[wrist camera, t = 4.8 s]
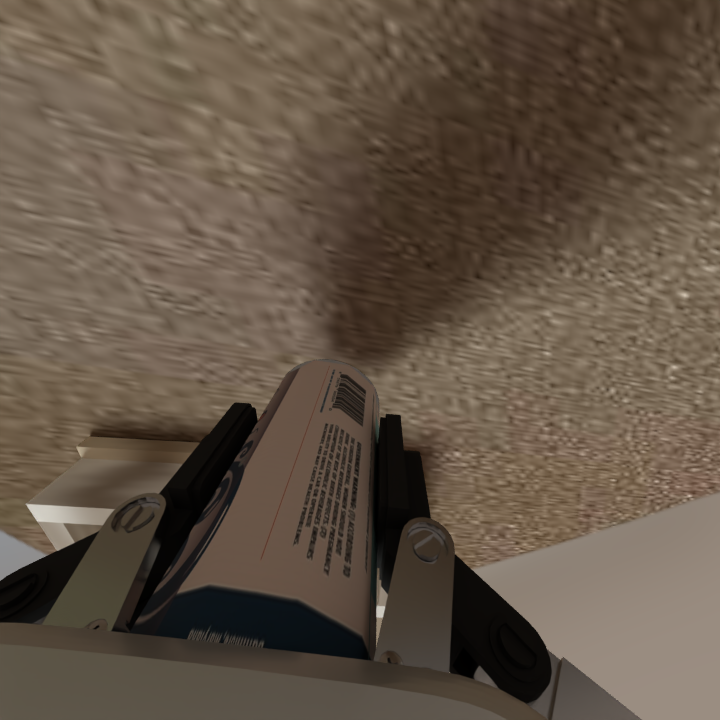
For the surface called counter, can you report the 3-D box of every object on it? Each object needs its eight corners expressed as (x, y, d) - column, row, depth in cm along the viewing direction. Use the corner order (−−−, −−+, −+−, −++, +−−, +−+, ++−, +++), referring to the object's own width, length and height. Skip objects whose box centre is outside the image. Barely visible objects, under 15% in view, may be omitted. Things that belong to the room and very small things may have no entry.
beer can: (267, 361, 13) (-230, 986, 2) (370, 346, 13) (302, 1117, 2) (296, 441, 15) (93, 975, 4) (386, 432, 15) (399, 1035, 4)
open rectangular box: (408, 454, 20) (418, 514, 16) (392, 559, 25) (396, 625, 21) (89, 436, 20) (17, 491, 16) (139, 544, 25) (94, 607, 21)
